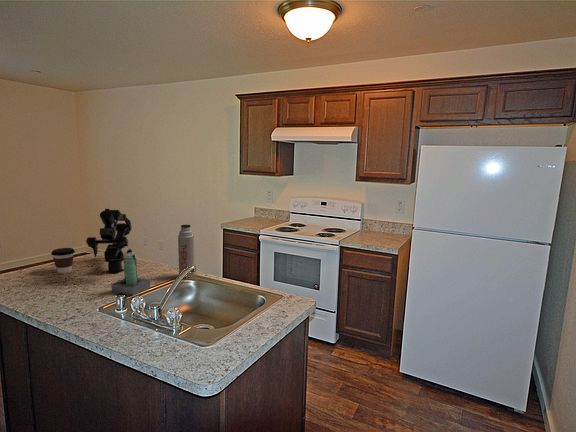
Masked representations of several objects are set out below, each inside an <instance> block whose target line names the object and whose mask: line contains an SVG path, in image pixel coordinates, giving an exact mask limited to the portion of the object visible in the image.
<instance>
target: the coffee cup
mask: <svg viewBox="0 0 576 432" xmlns="http://www.w3.org/2000/svg"><path fill="white" fill-rule="evenodd" d="M75 252H76V251H75V250H74V248H72V247H61V248H55V249H53V250H52V251H51V253H50V254H51V256H52V258H53V262H54V266H55V268H56V272H57V273H59V274H67V273H70V272H71V271H72V269H73V263H74V254H75Z"/></svg>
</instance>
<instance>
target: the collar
mask: <svg viewBox="0 0 576 432" xmlns="http://www.w3.org/2000/svg"><path fill="white" fill-rule="evenodd" d="M150 288H151V279H148V278H143V277H137V283H136V284H133V285H127V284H125V278H122V279H120V280H118V281H116V282H114V283H111V293H113V294H118V295H120V294H119V293H122V294H121V295H124V294H126V295H125V296H130V297H131V296H132V297H133V295H134V296H136V295H138V294H140V293H142V292H144V291H145V290H146V291H147V289H150ZM141 291H142V292H141ZM139 292H140V293H139ZM137 293H138V294H137ZM135 294H136V295H135Z"/></svg>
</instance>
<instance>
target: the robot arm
mask: <svg viewBox="0 0 576 432" xmlns="http://www.w3.org/2000/svg"><path fill="white" fill-rule="evenodd" d="M99 217H100V220H101V222H102V224H103V225H104V226H103V227H101V228H99V236H100V239H97V237H96V236H89V237H86V240H85V242H86V244H87V246H88V247H89V248H91V249H92V250H93V255H94V257H95V258H96V257H97V254H98V246H99V244H107V247H106V248H105V251H104V252H103V253H104V254H103V255H104V261H105V262H106V263H108V265H107V269H108V270H106V273H109V274H119V273H120V272H124V268H123V267H122V266H123V265H122V264H123V263H122V262H124V258H123V256H124V254H125V253H123V249H124V248H126V247H128V246H129V240H128V237H127V236H128V235H130V233H131V231H132V226H133V225H132V222H131V220H130V219H129V218H128V216H127V214H125V213H122V212H121V211H120V210H119V209H110V208H105V209H104V210H102V211H101V212H100V213H99ZM123 221H124V222H123ZM121 222H123V223H121Z"/></svg>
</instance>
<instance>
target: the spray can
mask: <svg viewBox="0 0 576 432" xmlns="http://www.w3.org/2000/svg"><path fill="white" fill-rule="evenodd" d="M123 254H124V256H123V258H124V261H123V269H124V271H123V273H124V274H123V275H124V278H123V279H125V284H127V285H133V284H136V283H137V278H138V271H137V270H138V267H137V253H135V252H133V250H132V249H131V248H128V249H127V251H126V253H125V252H124V253H123Z"/></svg>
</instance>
